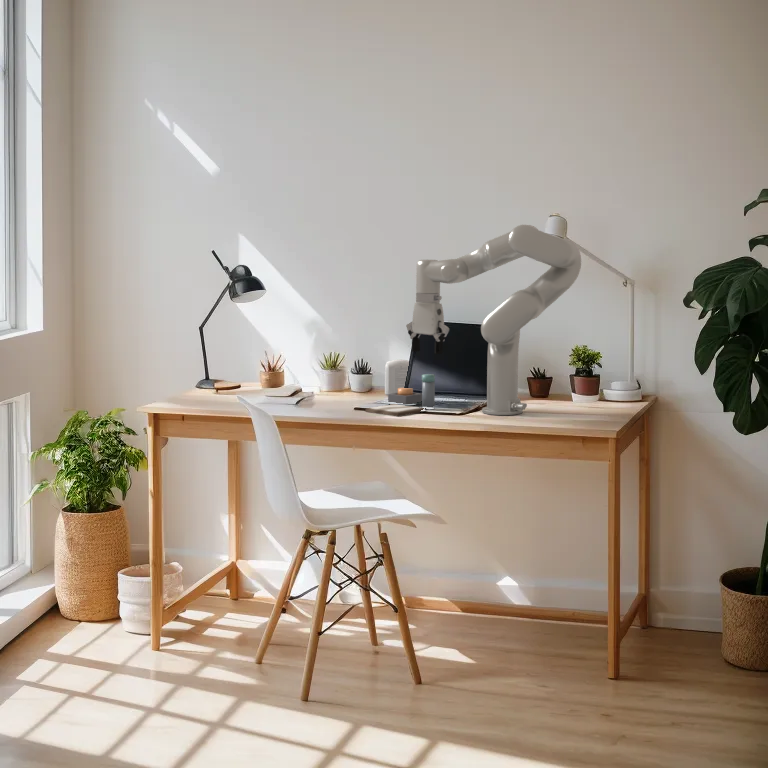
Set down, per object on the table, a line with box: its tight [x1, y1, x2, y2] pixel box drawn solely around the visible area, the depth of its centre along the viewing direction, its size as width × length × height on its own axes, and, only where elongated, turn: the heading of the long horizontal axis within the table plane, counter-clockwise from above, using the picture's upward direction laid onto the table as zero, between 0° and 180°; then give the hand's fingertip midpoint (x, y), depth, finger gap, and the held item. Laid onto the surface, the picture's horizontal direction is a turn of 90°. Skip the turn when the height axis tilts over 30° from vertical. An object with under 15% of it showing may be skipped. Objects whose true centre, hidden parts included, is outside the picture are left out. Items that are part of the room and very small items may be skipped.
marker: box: [421, 373, 436, 407], centre depth 318 cm, size 4×4×11 cm
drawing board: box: [365, 404, 426, 417], centre depth 314 cm, size 14×13×1 cm
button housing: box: [387, 392, 422, 404], centre depth 329 cm, size 8×8×4 cm
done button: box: [398, 387, 414, 396], centre depth 328 cm, size 5×5×2 cm
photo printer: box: [384, 358, 410, 396], centre depth 352 cm, size 10×4×12 cm, turn 109°
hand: (427, 352), depth 317 cm, fingers open, 9 cm apart
